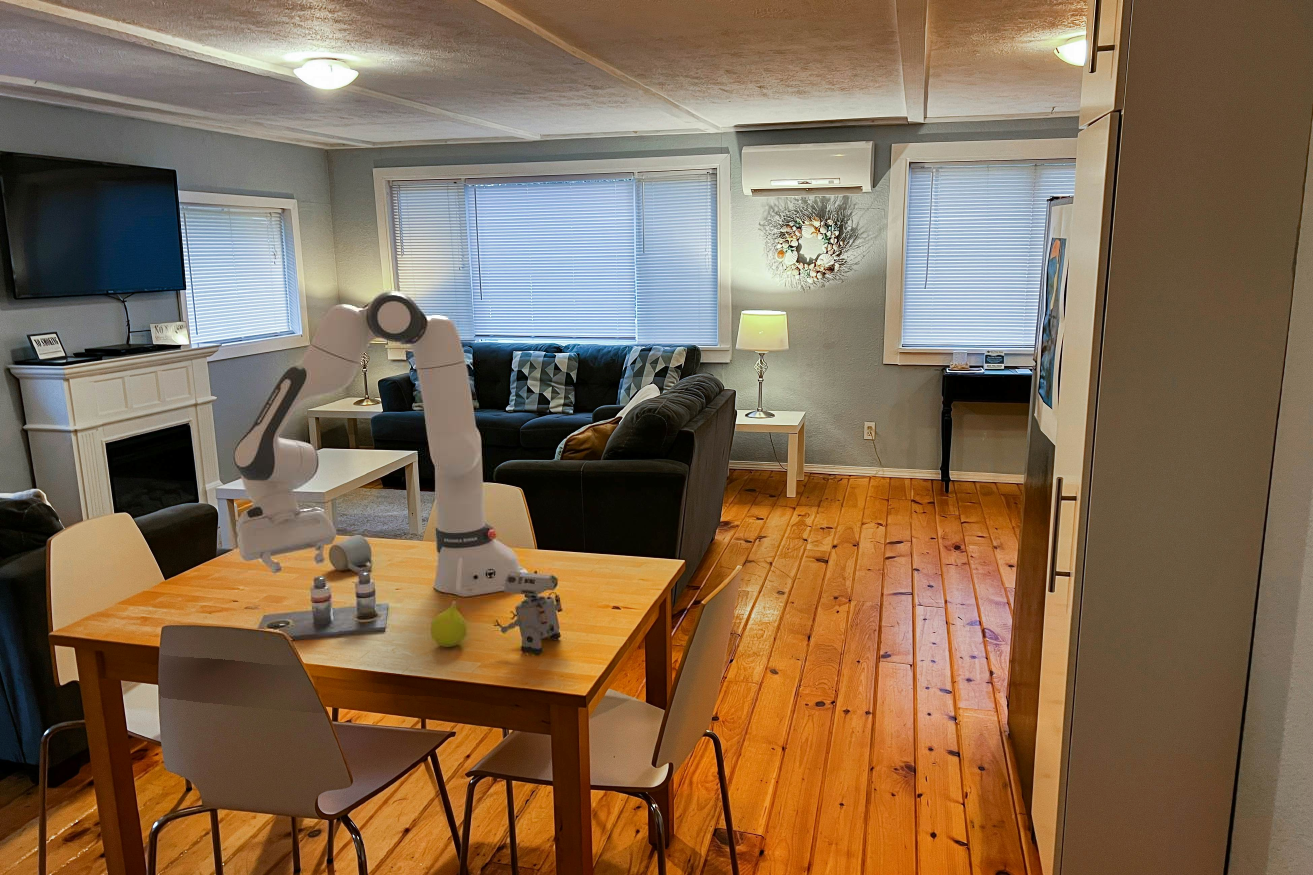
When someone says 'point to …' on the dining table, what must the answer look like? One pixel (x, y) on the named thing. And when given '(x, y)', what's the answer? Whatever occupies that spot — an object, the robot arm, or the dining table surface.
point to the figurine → (533, 609)
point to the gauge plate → (342, 624)
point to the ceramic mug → (351, 554)
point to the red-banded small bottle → (321, 601)
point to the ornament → (448, 627)
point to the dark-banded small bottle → (365, 596)
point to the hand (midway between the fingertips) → (299, 566)
